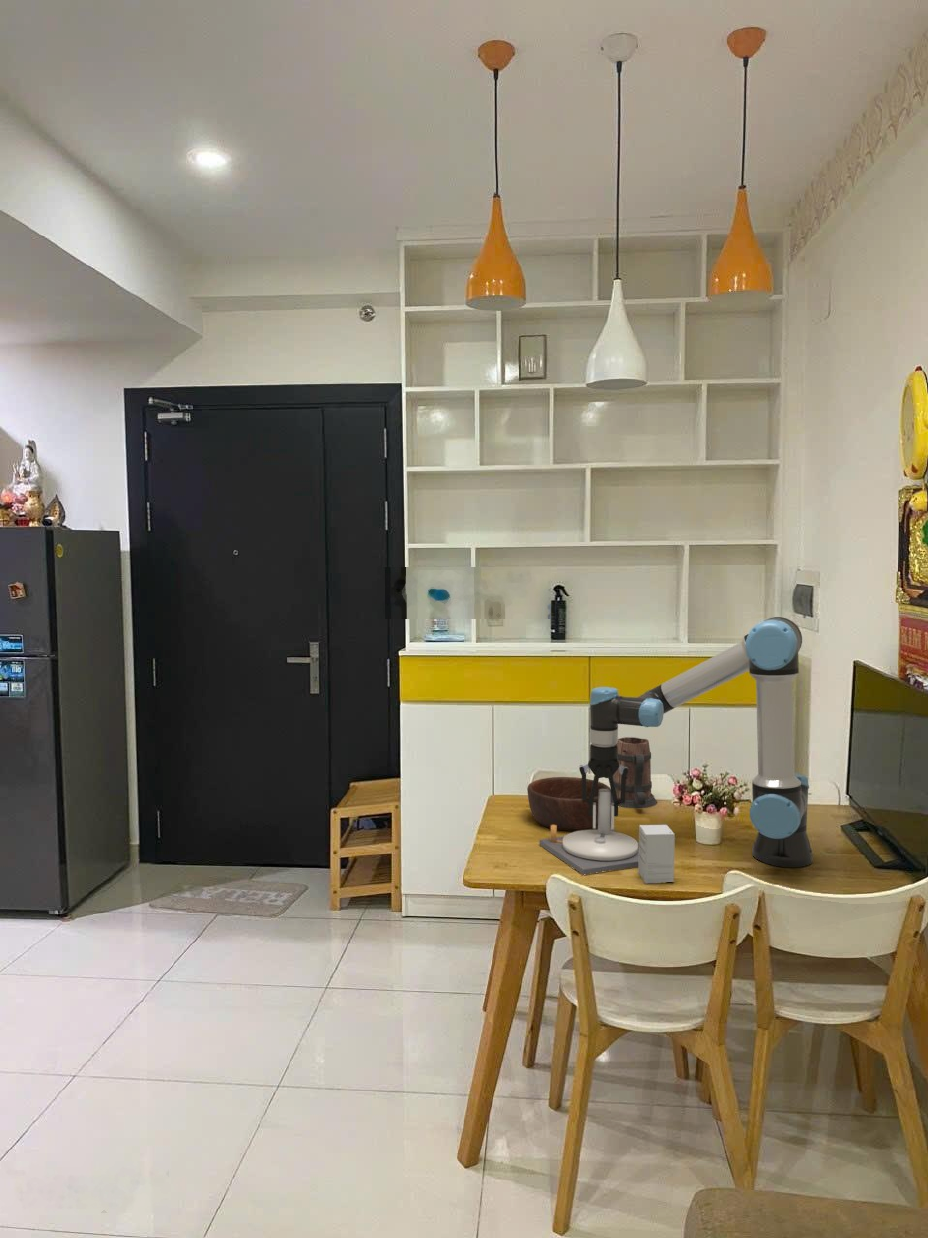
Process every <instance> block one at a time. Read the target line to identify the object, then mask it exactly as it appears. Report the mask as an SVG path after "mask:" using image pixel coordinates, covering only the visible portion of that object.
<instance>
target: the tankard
mask: <svg viewBox="0 0 928 1238" xmlns="http://www.w3.org/2000/svg"><path fill="white" fill-rule="evenodd" d="M616 745H617V746H618V762H619V765H622V766H624V767H625V766H627V767H628V773H627V775H626V789H625V803H622V804H619V807H618V808H625V809H647V808H652V807H655V806H656V805H658V800H657V799H656V798H655V795H654V794H653V793H652V788H653V787H652V785H653V782H652V778H651V777H652V776H651V775H652V774H651V765H652V764H651V759H652V753H651V748H650V741H649V740H648V739H647V738H639V737H635V736H634V737H632V736H630V737H628V736H627V737H625V736H624V737H621V738H618V743H617V744H616ZM613 780H614V784H615V789H616V793H617V798H620V794H621V774H620V770H619V769H618V770H617V771H616V772H615V773H614V775H613ZM611 803H614V802H613V797H612V800H611Z"/></svg>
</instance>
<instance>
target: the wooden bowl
mask: <svg viewBox="0 0 928 1238" xmlns="http://www.w3.org/2000/svg"><path fill="white" fill-rule="evenodd" d="M593 780H594V779H589V778H586V789H587V797H590V793H591V788H592V784H593ZM599 789H609V790H611V788H610V786H608V785H607V784H606V783H603V782H601V781H598V784H597V789H596V793H595V797H594V803H596V828H598V790H599ZM527 797H528V805H529V809H530V812H531V814H532V816H533V818H534V820H535V822H537V823H538V824H539V825H541V826H543V827H545V828H549V829H551V825H557V830H558V831H569V832H570V831H572V832H576V831H581V830H593V829H594V828H593V816H589V804H588V803H586V802H583V801H582V777H576V776H575V777H574V776H573V777H572V776H557V777H556V776H555V777H554V776H553V777H546V778H539V779H536V780H534V781H532V782H531V783H529V784H528V786H527Z"/></svg>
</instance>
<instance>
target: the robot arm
mask: <svg viewBox="0 0 928 1238" xmlns="http://www.w3.org/2000/svg"><path fill="white" fill-rule="evenodd" d="M750 629H751V630H750V631H749V633H747V634H746V635H743V637H742V640H741V641H740V642H739V643H737V644H735V645H733V646H731V647H729V648H727V649H725V650H724V651H722V652H720V653H718V654H715V655H714V656H712V657H710V658H708V659H706V660H705V661H702V662H700V663H699V664H697V665H695V666H693V667H691V668H690V669H687V670H685V671H684V672H682V673H680V674H678V675H676V676H675V677H672V678H670V679H668V680H667V681H664V682H662V683H661V684H659V685H657V686H655V687H653V688H651V689H649V690H647V691H645V692H644V693H643V694H641V695H639V696H637V697H636V696H633V697H632V696H622V695H619V690H618V688H615V687H611V686H610V687H609V686H600V687H595V688H592V689H591V691H590V701H589V719H590V720H589V723H590V726H589V727H590V728H589V742H590V743H591V744H589V761H588V762H587V764H580V765H579V767H578V768H579V770H578V771H579V772H580V775H581V778H582V801H583V802H586V803H588V804H589V816H593V828H592V829H593V830H597V827H596V803H594V797H595V793H596V789H597V784H598V782H600V781H599V780H600V779H602V778H605V779H607V780H608V782H609V787H610V789H611V792H612V797H613V802H614V803H611V830H615V818H617V817H618V816H619V807H618V806H619V804H622V803H625V789H626V775H627V773H628V767H627V766H625V767H624V766H622V765H619V762H618V746H617V745H616V744H617V743H618V739H619V738H618V737H619V736H618V735H619V733H618V732H619V725H624V726H625V725H627V726H636V727H644V728H658V727H660V726H661V725H662V724H663V723H662V722H663V720H664V714H666V713H669V711H670V712H671V711H672V710H674V709H675V708H678V707H680V706H681V705H683V704H684V705H685V704H686V703H687V702H690V701H692V700H693V699H695V698H697V697H699V696H701V695H703V694H705V693H707V692H710V691H711V690H713V689H715V688H717V687H719V686H721V685H723V684H725V683H727V682H729V681H731V680H733V679H735V678H737V677H739V676H741V675H743V674H745V673H747V672H749V675H750V677H752V678H753V679H754V680H755V687H756V689H755V691H756V692H755V693H756V694H755V697H756V699H755V700H756V731H757V732H756V735H757V740H756V741H757V770H758V771H757V775H756V776H755V777H753V779H751V784H752V788H751V790H752V802H751V805H750V808H749V817H750V818H749V819H750V823H752V825H753V827H754V828H755V830H757V835H756V837H755V838H756V839H755V841H754V842H753V844H752V846H751V847H752V850H751V851H752V853H751V854H752V857H753V856H754V857H755V860H757V859H758V860H757V861H759V860H760V862H761V861H762V862H761V863H765V864H767V865H770V864H771V866H775V867H781V868H803V867H807V866H809V864H810V865H811V864H812V863H813V856H814V855H813V854H814V853H813V850H812V848H811V844H810V839H809V836H808V831H807V828H808V827H807V825H808V802H809V789H810V785H809V778H808V777H807V776H806V775H804V774H802V773H797V772H795V740H794V736H795V735H794V702H793V701H794V697H793V696H794V695H793V692H794V691H793V690H794V689H793V688H794V687H793V680H794V679H795V678H797V676H798V675H799V674H800V672H799V668H800V667H799V652H800V650H801V648H802V645H803V644H802V643H803V634H802V632H801V629H800V628H799V627H798V625H797V624H796V623H795V622H794V621H793V620H791V619H789V618H787V617H782V616H776V617H775V616H774V617H769V618H768V619H765V620H762V621H760V622H758V623H757V624H755V625H754V626H753V627H752V628H750ZM618 769H619V770H620V774H621V794H620V798H617V793H616V789H615V784H614V780H613V775H614V773H615V772H616V771H617V770H618ZM589 770H590V771H591V773H592V774H593V779H592V780H593V784H592V788H591V793H590V797H587V789H586V779H587V773H588V772H589ZM754 857H753V858H754ZM806 865H807V866H806ZM802 866H803V867H802Z"/></svg>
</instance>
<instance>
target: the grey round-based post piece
mask: <svg viewBox="0 0 928 1238" xmlns="http://www.w3.org/2000/svg"><path fill="white" fill-rule="evenodd" d="M611 800H612V792H611V790H609V789H599V790H598V826H597V829H588V830H580V831H572V832H570V833H567V834H565V835H564V838H563V848H564V850H565V851H567V852H568V853H570V854H572V855H575V856H577V857H581V858H585V859H591V860H601V861H612V860H622V859H626V858H630V857H632V856H634V855H635V854H636V853H637V852H638V843H639V841H637V840H636V838H634V837H632V836H630V835H628V834H625V833H621V832H620V833H618V832H619V831H618V832H614V831H611V830H612V829H611Z"/></svg>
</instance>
